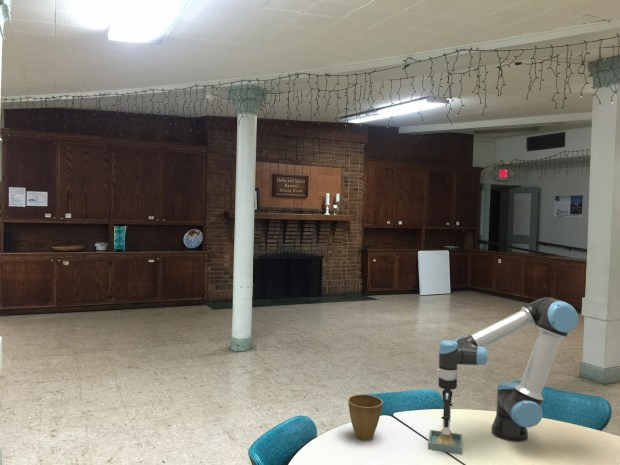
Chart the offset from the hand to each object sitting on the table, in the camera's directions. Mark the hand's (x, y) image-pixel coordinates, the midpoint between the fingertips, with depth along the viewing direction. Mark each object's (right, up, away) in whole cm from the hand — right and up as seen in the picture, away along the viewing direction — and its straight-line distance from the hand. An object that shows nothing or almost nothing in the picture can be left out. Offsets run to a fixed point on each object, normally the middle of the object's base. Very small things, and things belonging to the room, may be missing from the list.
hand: (446, 427), depth 216 cm
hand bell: (0, -7, 0) cm, 7 cm away
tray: (0, -7, 0) cm, 7 cm away
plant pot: (-34, -7, +6) cm, 35 cm away
